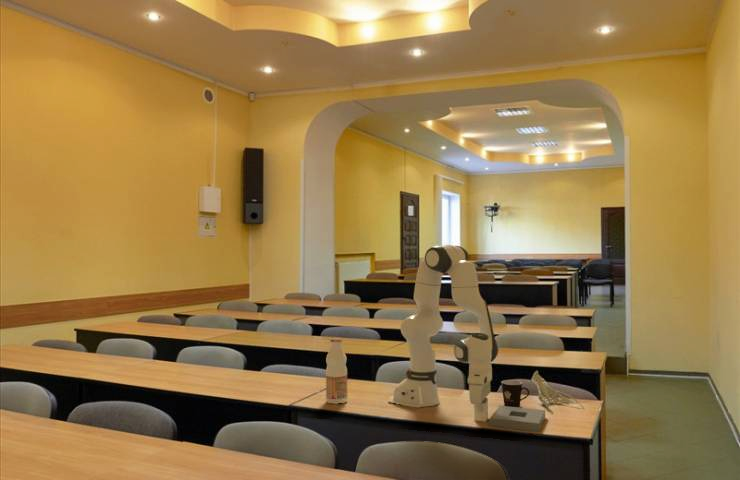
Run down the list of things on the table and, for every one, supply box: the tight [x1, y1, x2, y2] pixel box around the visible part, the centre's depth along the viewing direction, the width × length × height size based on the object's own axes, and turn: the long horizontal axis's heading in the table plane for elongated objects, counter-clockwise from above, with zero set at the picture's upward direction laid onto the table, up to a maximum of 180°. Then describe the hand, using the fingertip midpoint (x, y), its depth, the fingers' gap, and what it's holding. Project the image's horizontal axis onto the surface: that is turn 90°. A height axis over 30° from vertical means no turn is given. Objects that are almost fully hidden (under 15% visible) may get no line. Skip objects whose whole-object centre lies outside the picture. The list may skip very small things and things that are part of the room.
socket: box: [489, 405, 546, 433], centre depth 222 cm, size 18×18×3 cm
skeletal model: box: [531, 370, 585, 414], centre depth 246 cm, size 16×9×25 cm
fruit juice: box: [325, 337, 348, 405], centre depth 255 cm, size 9×9×28 cm
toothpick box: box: [473, 397, 489, 422], centre depth 226 cm, size 4×4×8 cm
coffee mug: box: [500, 379, 530, 408], centre depth 243 cm, size 12×9×10 cm
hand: (481, 410), depth 226 cm, fingers closed on toothpick box, 4 cm apart
